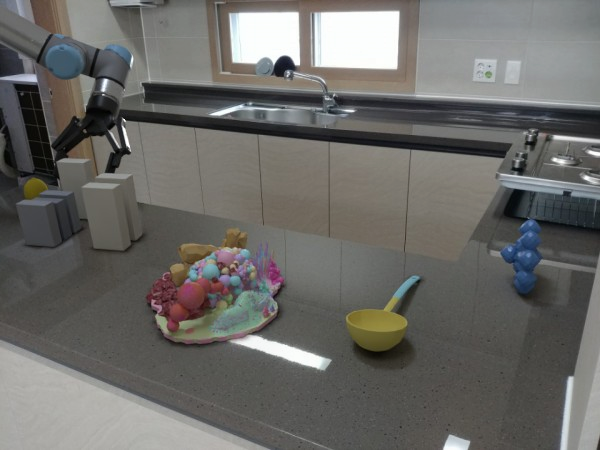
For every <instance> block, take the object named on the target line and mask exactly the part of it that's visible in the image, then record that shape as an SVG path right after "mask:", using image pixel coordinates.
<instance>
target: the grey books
mask: <svg viewBox="0 0 600 450" xmlns="http://www.w3.org/2000/svg"><path fill="white" fill-rule="evenodd" d="M39 197H40V198H39ZM39 197H36V198H34V199H32V200H26V199H22V200H20V201H19V202H17V203H15V206H16V207H15V208H16V212H17V216H18V218H19V222H20V226H21V230H22V234H23V238H24V242H25V245H26V246H37V247H49V248H56V247H57V246H58V245H60V244H62V242H63V241H66V240H67V239H68V238H70V237H72V236H73V234H76V233H78V232H79V231H80V230H81V229H82V224H81V219H79V214H78V209H77V205H76V200H75V195H74V192H72V191H63V190H54V189H53V190H51V189H48V190H46V191H44V192H42V193H40V194H39Z"/></svg>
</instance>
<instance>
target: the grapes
mask: <svg viewBox="0 0 600 450" xmlns="http://www.w3.org/2000/svg"><path fill="white" fill-rule="evenodd" d="M518 231H519V233H520V234H521V235H520V237H519V238H518V239H517V240H516V241H515V242H514V243H515V245H514V244H508V245H506V246H505V247H504V248H503V249H502V250H501V251H500V252H499V254H500V256H501V257H502V259H503V261H504V262H505V263H507V264H509V265H511V264H512V269H513V271H514V272H515V274H514V275H513V279H514V282H513V285H514V287H515V288H516V290H517V292H519V293H520V294H523V295H526V294H528V293H530V292H531V291H532V290H533V289H534V288H535V287H536V284H535V283H536V282H537V280H538V278H537V276H536V274H535V273H534V271H535V269H536V267H537V266H538V265H539V263H541V260H543V259H544V258H543V257H544V256H543V255H542V254H541V252H540V251H539V250H538V249H537V248H538V247H539V246H540V245H541V244H542V242H543V241H542V239H541V237H540V236H539V234H540V232H542V228H541V226H540V224H539V223H538V222H537V221H536V220H535V219H533V218H530V219H527V220H526V221H524V222H523V224H522V225H520V227H519V228H518Z"/></svg>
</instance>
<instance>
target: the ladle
mask: <svg viewBox="0 0 600 450" xmlns="http://www.w3.org/2000/svg"><path fill="white" fill-rule="evenodd" d="M419 280H421V277H420V276H418V275H412V276H410V277H409V278H408V279H407V280H405V281H404V282H403V283H402V284H401V285H400V286H399V287H398V289H397V290H396V291H395V293H394V294H393V295H392V296H391V299H390V300H389V301H388V303H387V304H386V305H385V307H384V308H383V309H374V308H373V309H371V308H366V309H359V310H354V311H352V312H349V313H348V314H347V315H346V317H345V321H346V328H347V331H348V334H349V337H351V339H352V340H353V341H354V342H355V344H357V345H358V346H359V347H361V348H362V349H364V350H367V351H371V352H384V351H388V350H391V349H392V348H394V347H395V346H397V345H398V344H400V342H402V339H403V338H404V337H405V334H406V332H407V329H408V324H409V323H408V321H407V319H406V317H404V316H402V315H400V314H398V313H396V312H392V311H393V309H394V308H395V307H396V305H397V304H398V302H399V301H400V300H401V299H402V298H403V296H404V295H405V294H406V293H407V292H408V290H409V289H410V288H411V287H412V286H413V285H414V284H415V283H417V282H418V281H419Z"/></svg>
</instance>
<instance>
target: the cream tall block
mask: <svg viewBox="0 0 600 450" xmlns="http://www.w3.org/2000/svg"><path fill="white" fill-rule="evenodd" d="M56 163H57V167H58V172H59V176H60V180H59V181H60V186H61V189H62V190H61V191H72V192H74V195H75V200H76V205H77V209H78V214H79V219H80V220H88V218H87V213H86V208H85V203H84V198H83V193H82V188H81V187H83V186H84V185H86V184H88V183H90V182H91V183H96V180H95V175H94V170H93V164H92V159H91V158H70V157H68V158H64V159H61V160H59V161H57V162H56Z"/></svg>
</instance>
